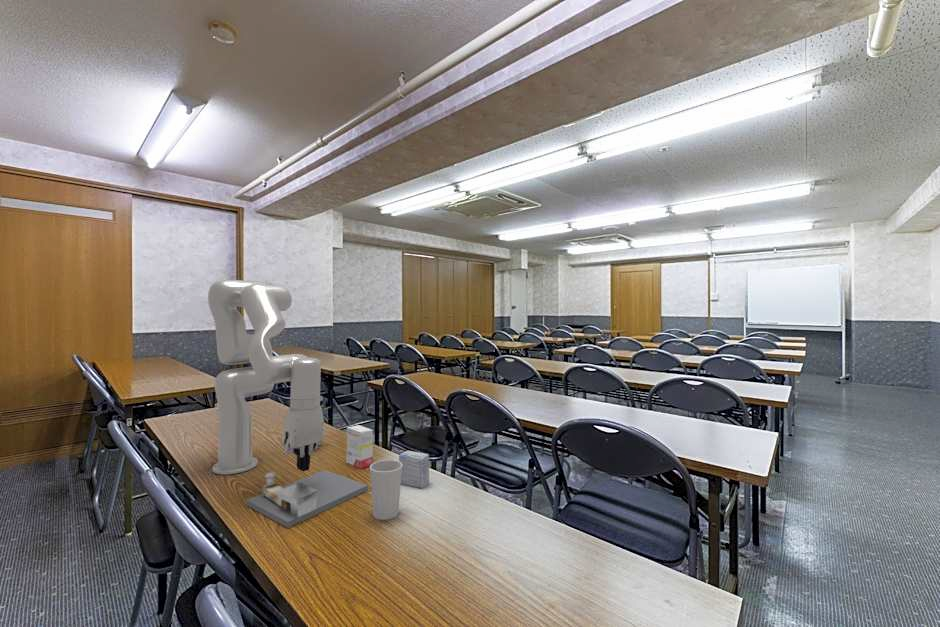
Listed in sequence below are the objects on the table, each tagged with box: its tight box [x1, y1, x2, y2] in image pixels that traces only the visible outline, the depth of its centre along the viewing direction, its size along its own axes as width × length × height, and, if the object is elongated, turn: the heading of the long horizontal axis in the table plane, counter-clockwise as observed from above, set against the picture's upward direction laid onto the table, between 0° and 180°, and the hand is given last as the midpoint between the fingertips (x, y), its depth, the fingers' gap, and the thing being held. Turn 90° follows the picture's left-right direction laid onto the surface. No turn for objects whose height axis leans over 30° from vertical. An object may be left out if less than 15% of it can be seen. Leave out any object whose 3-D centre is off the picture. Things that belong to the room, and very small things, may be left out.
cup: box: [369, 459, 402, 521], centre depth 101 cm, size 8×8×12 cm
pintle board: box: [245, 469, 369, 529], centre depth 109 cm, size 19×24×7 cm
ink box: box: [345, 424, 374, 469], centre depth 134 cm, size 9×5×12 cm, turn 49°
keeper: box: [277, 483, 318, 517], centre depth 100 cm, size 8×6×4 cm
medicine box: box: [398, 450, 430, 489], centre depth 119 cm, size 8×4×9 cm, turn 65°
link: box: [262, 482, 291, 510], centre depth 104 cm, size 14×4×2 cm, turn 50°
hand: (303, 469), depth 111 cm, fingers closed
